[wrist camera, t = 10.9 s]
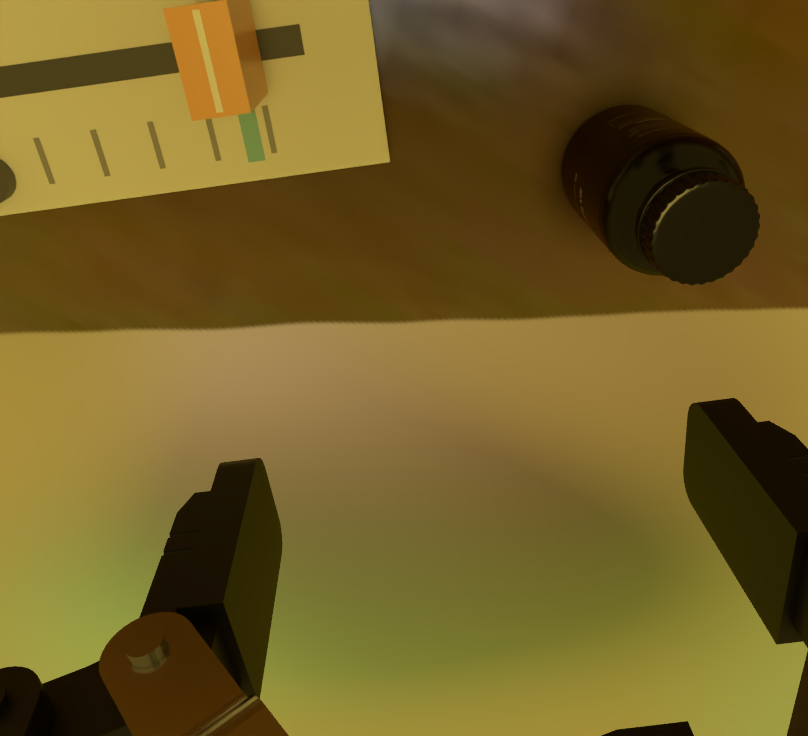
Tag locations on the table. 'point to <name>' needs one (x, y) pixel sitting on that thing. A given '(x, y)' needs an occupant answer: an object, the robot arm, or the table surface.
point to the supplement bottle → (661, 195)
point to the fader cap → (217, 57)
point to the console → (175, 101)
